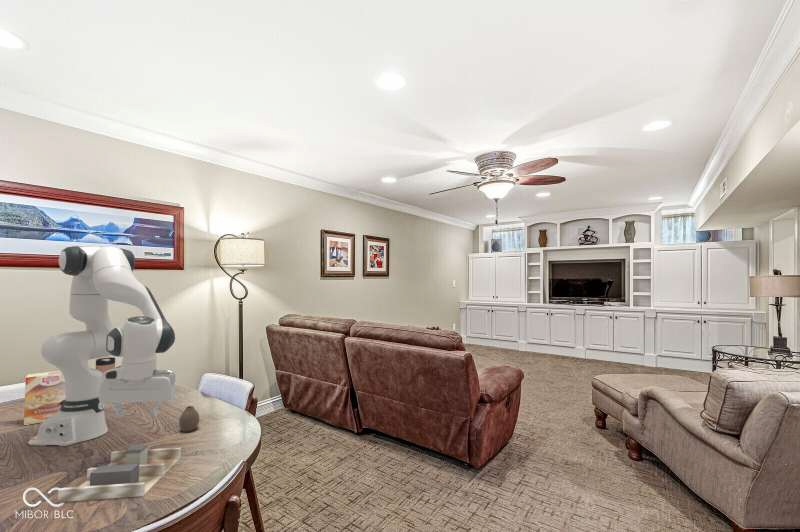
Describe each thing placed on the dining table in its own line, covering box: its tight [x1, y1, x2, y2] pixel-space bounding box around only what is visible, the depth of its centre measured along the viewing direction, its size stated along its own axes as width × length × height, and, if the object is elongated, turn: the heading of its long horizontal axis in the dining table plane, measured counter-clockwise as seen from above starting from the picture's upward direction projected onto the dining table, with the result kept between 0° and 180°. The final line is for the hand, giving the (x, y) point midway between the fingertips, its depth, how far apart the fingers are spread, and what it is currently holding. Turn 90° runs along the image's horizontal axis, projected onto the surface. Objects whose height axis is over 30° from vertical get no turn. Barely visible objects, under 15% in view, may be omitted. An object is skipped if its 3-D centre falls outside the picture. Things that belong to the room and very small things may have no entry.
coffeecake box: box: [23, 370, 66, 426], centre depth 156 cm, size 15×7×20 cm, turn 131°
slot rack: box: [57, 447, 182, 503], centre depth 107 cm, size 20×22×4 cm
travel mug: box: [95, 356, 116, 380], centre depth 182 cm, size 8×8×20 cm
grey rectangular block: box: [125, 443, 149, 465], centre depth 112 cm, size 4×4×6 cm
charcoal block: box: [90, 464, 139, 486], centre depth 102 cm, size 10×4×5 cm, turn 97°
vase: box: [178, 405, 200, 433], centre depth 144 cm, size 7×7×9 cm
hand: (137, 416), depth 113 cm, fingers open, 8 cm apart
